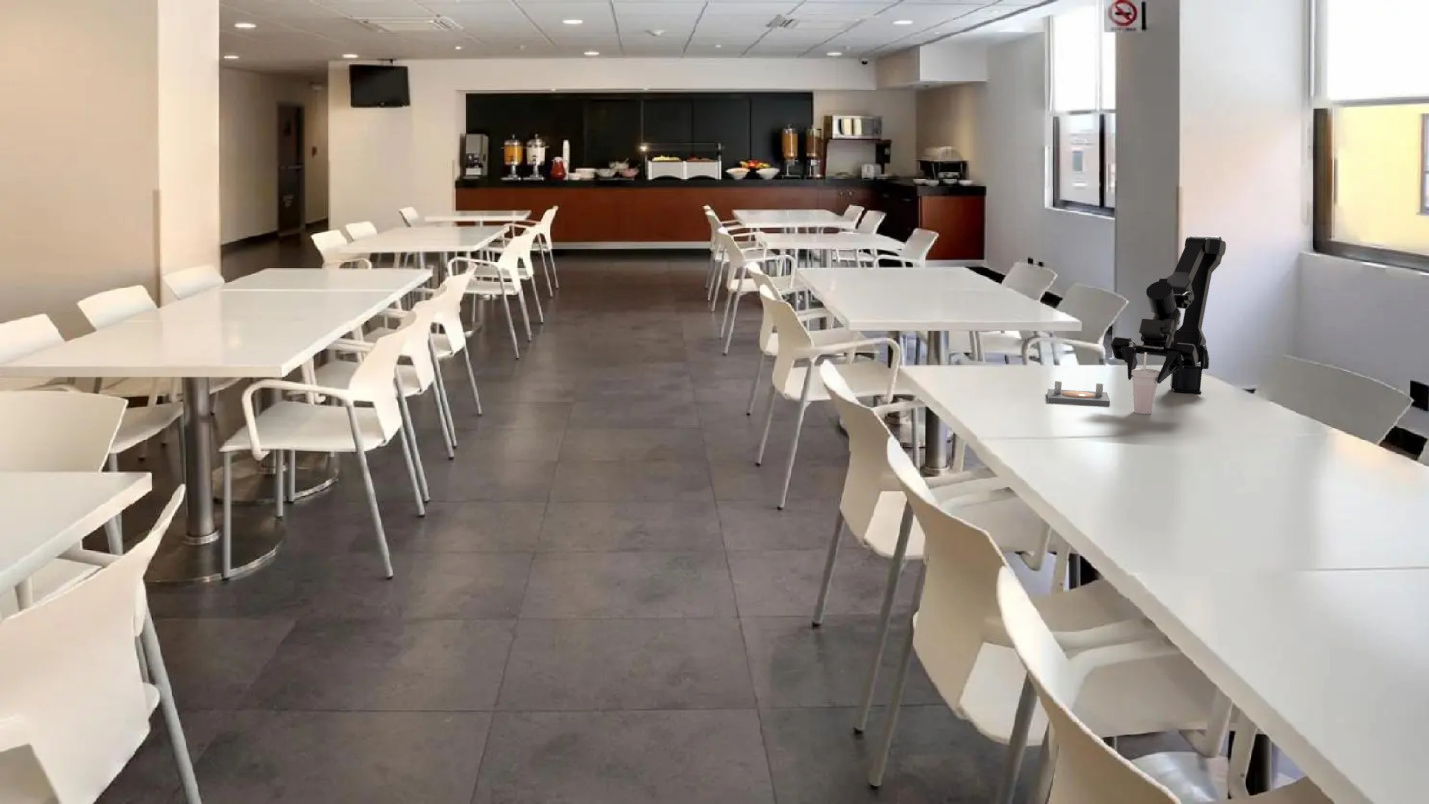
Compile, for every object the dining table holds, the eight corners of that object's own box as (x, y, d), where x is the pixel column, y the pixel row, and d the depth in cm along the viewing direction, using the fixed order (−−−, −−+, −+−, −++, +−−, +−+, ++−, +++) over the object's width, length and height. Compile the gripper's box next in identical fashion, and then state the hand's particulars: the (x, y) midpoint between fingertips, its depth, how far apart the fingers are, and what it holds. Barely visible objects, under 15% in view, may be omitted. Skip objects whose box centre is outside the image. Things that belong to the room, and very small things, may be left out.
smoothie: (1122, 410, 283) (1126, 350, 280) (1143, 408, 286) (1148, 349, 283) (1142, 416, 277) (1147, 355, 275) (1163, 413, 280) (1168, 353, 277)
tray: (1106, 397, 298) (1107, 380, 298) (1109, 406, 288) (1110, 388, 287) (1047, 393, 302) (1048, 377, 301) (1048, 402, 291) (1049, 385, 290)
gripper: (1116, 302, 285) (1096, 354, 279) (1199, 309, 274) (1179, 364, 268) (1125, 331, 293) (1105, 383, 287) (1205, 339, 282) (1187, 393, 276)
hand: (1143, 380), depth 279 cm, fingers closed on smoothie, 6 cm apart
